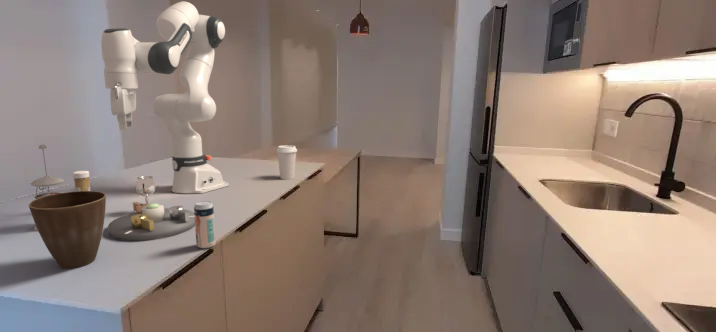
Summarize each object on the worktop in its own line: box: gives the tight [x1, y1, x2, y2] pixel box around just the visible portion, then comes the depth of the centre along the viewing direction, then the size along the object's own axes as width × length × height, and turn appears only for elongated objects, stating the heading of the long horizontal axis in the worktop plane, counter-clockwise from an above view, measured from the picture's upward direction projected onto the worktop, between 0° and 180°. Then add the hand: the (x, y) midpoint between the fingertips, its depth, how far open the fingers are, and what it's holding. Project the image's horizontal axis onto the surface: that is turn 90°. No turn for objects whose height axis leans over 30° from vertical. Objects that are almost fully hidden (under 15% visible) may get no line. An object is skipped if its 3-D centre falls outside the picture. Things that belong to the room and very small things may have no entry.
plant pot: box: [28, 190, 107, 269], centre depth 98 cm, size 15×15×16 cm
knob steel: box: [168, 205, 189, 221], centre depth 125 cm, size 8×4×3 cm, turn 50°
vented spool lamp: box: [30, 144, 65, 232], centre depth 123 cm, size 10×12×25 cm
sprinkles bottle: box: [72, 170, 92, 192], centre depth 139 cm, size 5×5×13 cm
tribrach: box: [107, 202, 195, 242], centre depth 125 cm, size 24×24×7 cm
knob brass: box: [131, 214, 154, 230], centre depth 117 cm, size 8×4×3 cm, turn 57°
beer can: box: [193, 200, 216, 250], centre depth 109 cm, size 5×5×12 cm
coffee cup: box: [276, 144, 298, 181], centre depth 190 cm, size 10×10×15 cm
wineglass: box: [135, 175, 156, 204], centre depth 138 cm, size 6×6×12 cm
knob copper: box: [132, 201, 149, 214], centre depth 130 cm, size 8×4×3 cm, turn 50°
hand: (126, 127), depth 128 cm, fingers open, 8 cm apart
